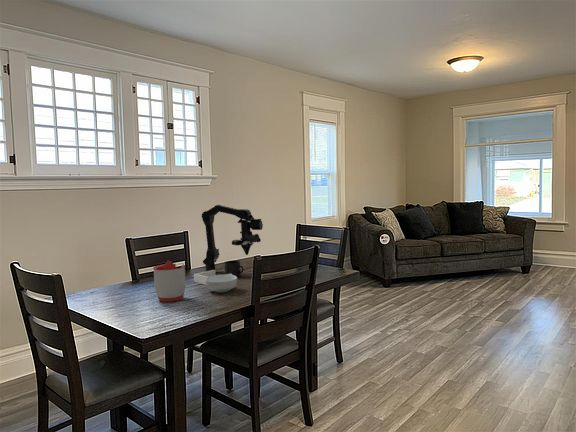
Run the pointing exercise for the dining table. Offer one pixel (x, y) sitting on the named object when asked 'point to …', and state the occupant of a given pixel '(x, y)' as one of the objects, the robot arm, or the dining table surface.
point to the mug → (233, 268)
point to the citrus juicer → (169, 282)
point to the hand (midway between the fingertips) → (246, 254)
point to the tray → (204, 276)
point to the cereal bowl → (221, 282)
